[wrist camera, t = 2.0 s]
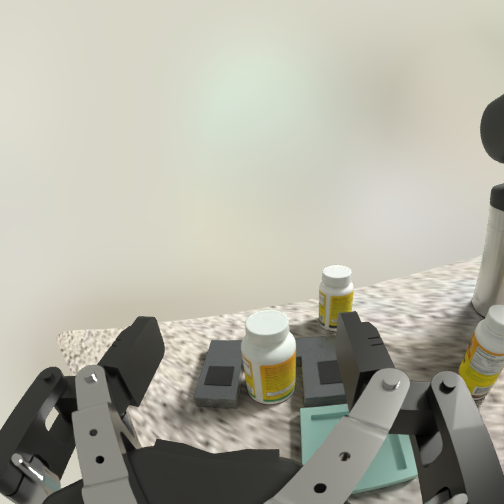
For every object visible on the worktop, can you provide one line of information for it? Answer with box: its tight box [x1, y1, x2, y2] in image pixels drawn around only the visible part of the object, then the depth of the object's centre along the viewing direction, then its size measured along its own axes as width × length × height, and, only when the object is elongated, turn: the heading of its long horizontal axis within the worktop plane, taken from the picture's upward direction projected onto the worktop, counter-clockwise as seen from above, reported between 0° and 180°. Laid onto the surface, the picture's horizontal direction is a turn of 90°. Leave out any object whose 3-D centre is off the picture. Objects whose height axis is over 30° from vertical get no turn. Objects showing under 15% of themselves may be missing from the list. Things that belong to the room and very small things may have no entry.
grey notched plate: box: [194, 335, 347, 408], centre depth 29 cm, size 18×10×2 cm, turn 85°
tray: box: [300, 404, 418, 495], centre depth 18 cm, size 10×10×1 cm
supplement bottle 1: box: [241, 310, 296, 404], centre depth 26 cm, size 5×5×10 cm
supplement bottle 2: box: [319, 265, 353, 331], centre depth 37 cm, size 5×5×8 cm
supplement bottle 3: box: [457, 305, 504, 400], centre depth 19 cm, size 6×6×10 cm
